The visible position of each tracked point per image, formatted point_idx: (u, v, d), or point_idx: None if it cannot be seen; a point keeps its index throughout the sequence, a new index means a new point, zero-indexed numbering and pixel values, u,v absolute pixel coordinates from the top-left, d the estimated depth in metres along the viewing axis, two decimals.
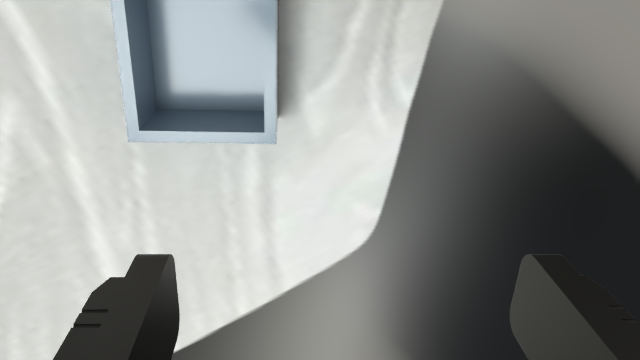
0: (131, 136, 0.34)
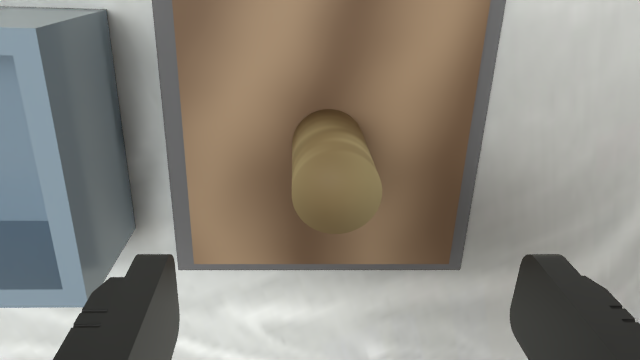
0: None
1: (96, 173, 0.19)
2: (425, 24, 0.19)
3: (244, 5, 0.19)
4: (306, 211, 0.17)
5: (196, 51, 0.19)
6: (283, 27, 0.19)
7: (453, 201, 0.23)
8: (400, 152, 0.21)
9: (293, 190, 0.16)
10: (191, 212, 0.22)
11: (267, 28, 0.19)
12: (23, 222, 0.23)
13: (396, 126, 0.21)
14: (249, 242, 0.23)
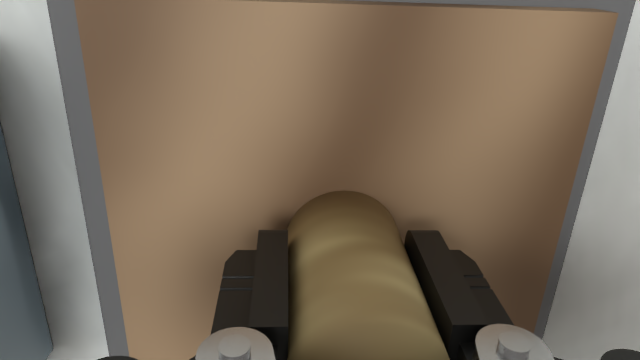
0: None
1: None
2: (506, 58, 0.12)
3: (202, 26, 0.11)
4: None
5: (124, 102, 0.12)
6: (270, 63, 0.11)
7: (529, 318, 0.15)
8: None
9: None
10: (129, 341, 0.14)
11: (243, 65, 0.11)
12: None
13: (450, 215, 0.13)
14: None
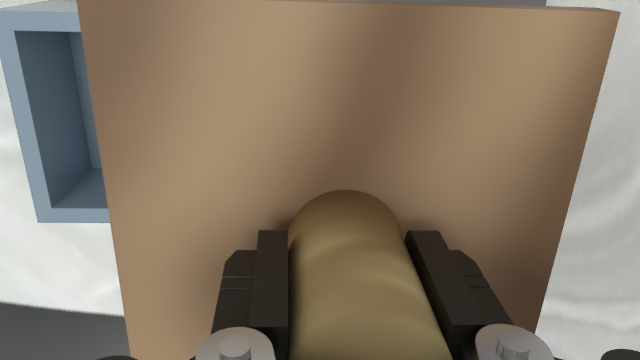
0: (0, 16, 0.21)
1: None
2: (508, 57, 0.12)
3: (204, 25, 0.11)
4: None
5: (126, 101, 0.12)
6: (272, 62, 0.11)
7: (530, 318, 0.15)
8: None
9: None
10: (131, 340, 0.14)
11: (245, 64, 0.11)
12: None
13: (451, 214, 0.13)
14: None
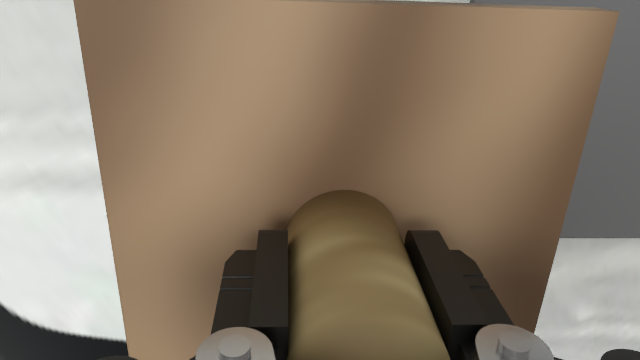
0: None
1: None
2: (507, 57, 0.12)
3: (202, 24, 0.11)
4: None
5: (123, 101, 0.11)
6: (270, 62, 0.11)
7: (530, 318, 0.15)
8: None
9: None
10: (129, 340, 0.14)
11: (243, 64, 0.11)
12: None
13: (450, 214, 0.13)
14: None
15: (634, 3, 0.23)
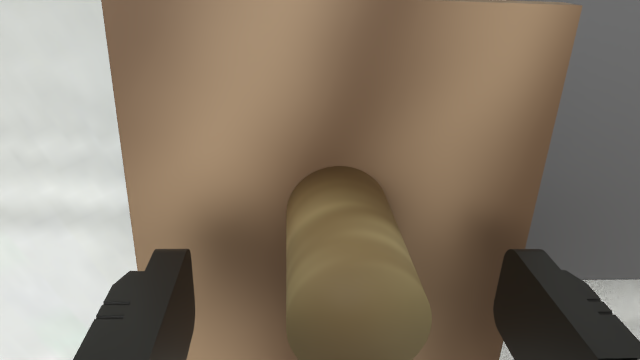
0: None
1: None
2: (483, 46, 0.13)
3: (214, 17, 0.12)
4: (310, 351, 0.10)
5: (143, 85, 0.13)
6: (273, 50, 0.13)
7: None
8: (439, 223, 0.15)
9: (289, 322, 0.10)
10: None
11: (249, 51, 0.13)
12: None
13: (435, 188, 0.15)
14: (226, 342, 0.17)
15: None
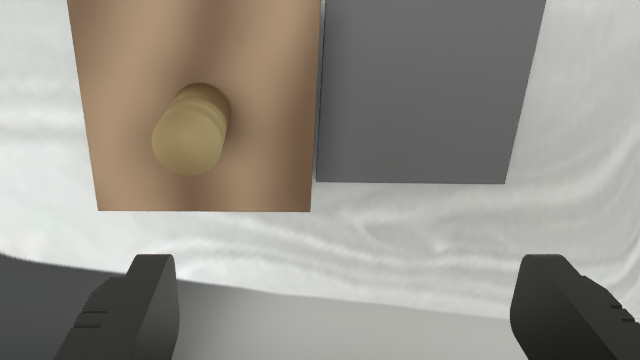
0: None
1: None
2: (271, 16, 0.25)
3: None
4: (164, 157, 0.22)
5: (88, 34, 0.24)
6: (157, 16, 0.24)
7: (308, 159, 0.28)
8: (261, 118, 0.27)
9: (152, 140, 0.22)
10: (93, 166, 0.27)
11: (144, 17, 0.24)
12: None
13: (256, 97, 0.26)
14: (143, 192, 0.28)
15: (446, 2, 0.31)
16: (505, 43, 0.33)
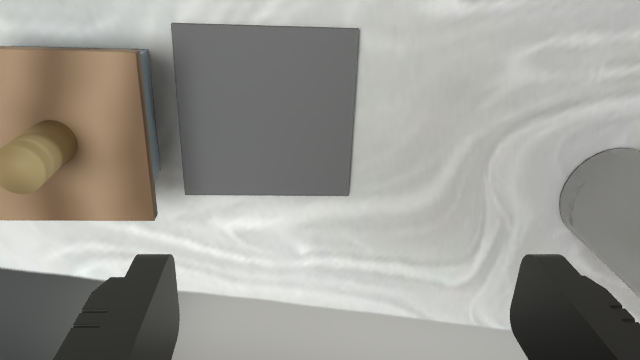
0: None
1: None
2: (98, 68, 0.32)
3: None
4: (1, 180, 0.29)
5: None
6: (9, 70, 0.31)
7: (146, 178, 0.35)
8: (102, 147, 0.34)
9: None
10: None
11: None
12: None
13: (95, 130, 0.33)
14: (15, 205, 0.35)
15: (273, 47, 0.38)
16: (328, 79, 0.39)
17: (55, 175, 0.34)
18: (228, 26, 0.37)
